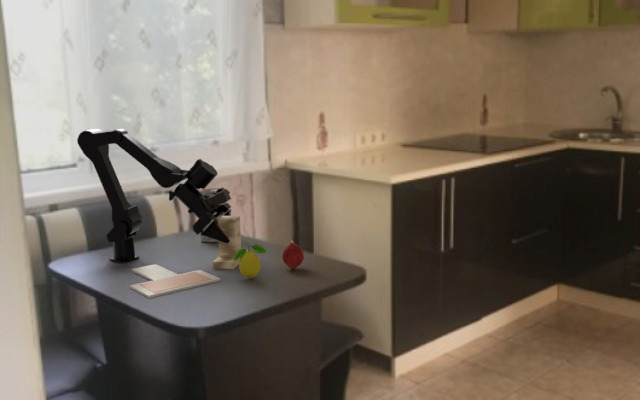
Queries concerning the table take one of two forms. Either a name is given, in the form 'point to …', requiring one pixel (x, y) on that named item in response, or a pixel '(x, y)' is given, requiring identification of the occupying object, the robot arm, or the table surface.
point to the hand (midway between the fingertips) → (233, 238)
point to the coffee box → (213, 192)
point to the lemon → (249, 261)
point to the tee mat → (169, 280)
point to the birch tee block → (229, 250)
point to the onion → (293, 255)
